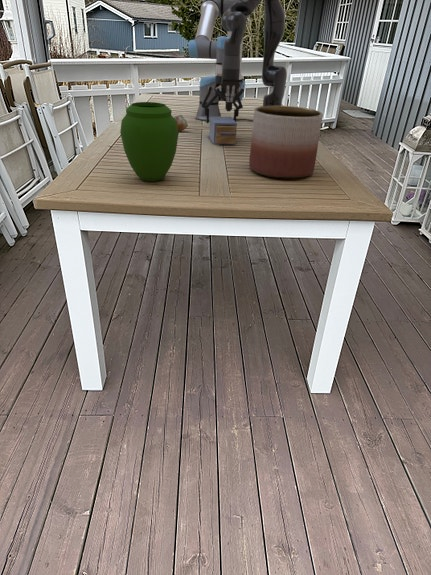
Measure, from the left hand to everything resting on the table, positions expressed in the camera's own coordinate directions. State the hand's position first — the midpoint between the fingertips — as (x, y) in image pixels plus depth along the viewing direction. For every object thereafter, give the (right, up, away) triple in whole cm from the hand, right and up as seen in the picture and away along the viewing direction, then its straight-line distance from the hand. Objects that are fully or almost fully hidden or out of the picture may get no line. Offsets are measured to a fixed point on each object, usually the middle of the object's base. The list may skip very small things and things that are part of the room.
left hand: (221, 123), depth 203 cm
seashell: (-22, +1, +14) cm, 26 cm away
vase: (-26, -42, -56) cm, 75 cm away
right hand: (+3, -2, -19) cm, 20 cm away
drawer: (+1, -11, -5) cm, 12 cm away
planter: (+23, -35, -41) cm, 59 cm away
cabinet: (0, -8, 0) cm, 8 cm away
